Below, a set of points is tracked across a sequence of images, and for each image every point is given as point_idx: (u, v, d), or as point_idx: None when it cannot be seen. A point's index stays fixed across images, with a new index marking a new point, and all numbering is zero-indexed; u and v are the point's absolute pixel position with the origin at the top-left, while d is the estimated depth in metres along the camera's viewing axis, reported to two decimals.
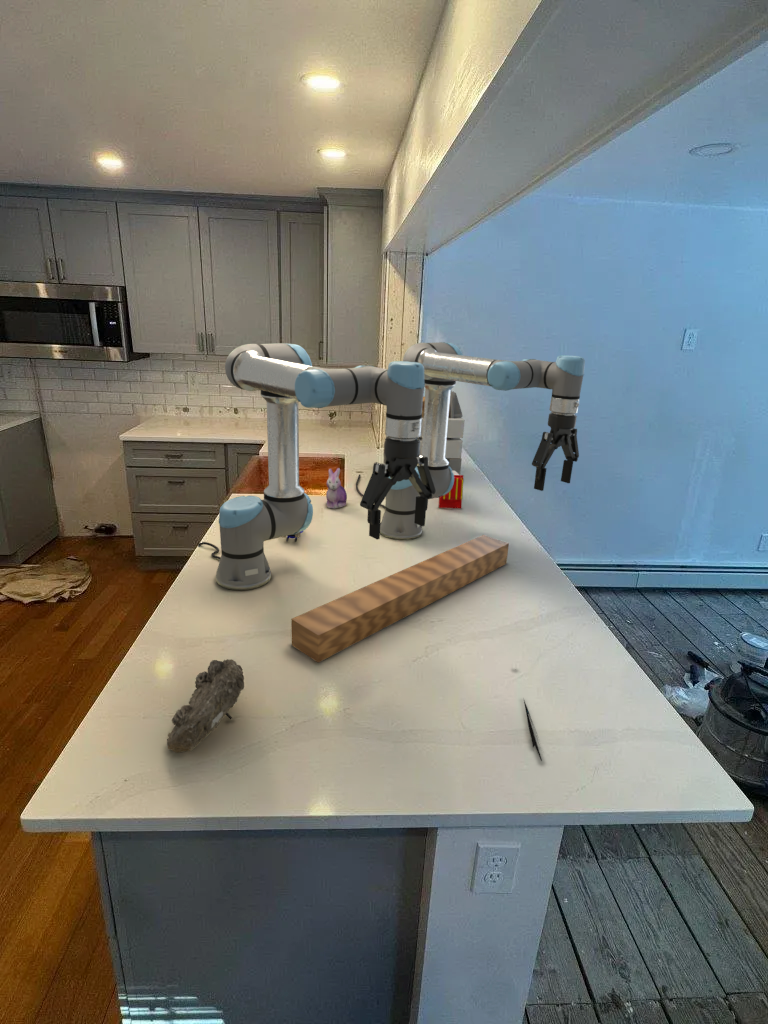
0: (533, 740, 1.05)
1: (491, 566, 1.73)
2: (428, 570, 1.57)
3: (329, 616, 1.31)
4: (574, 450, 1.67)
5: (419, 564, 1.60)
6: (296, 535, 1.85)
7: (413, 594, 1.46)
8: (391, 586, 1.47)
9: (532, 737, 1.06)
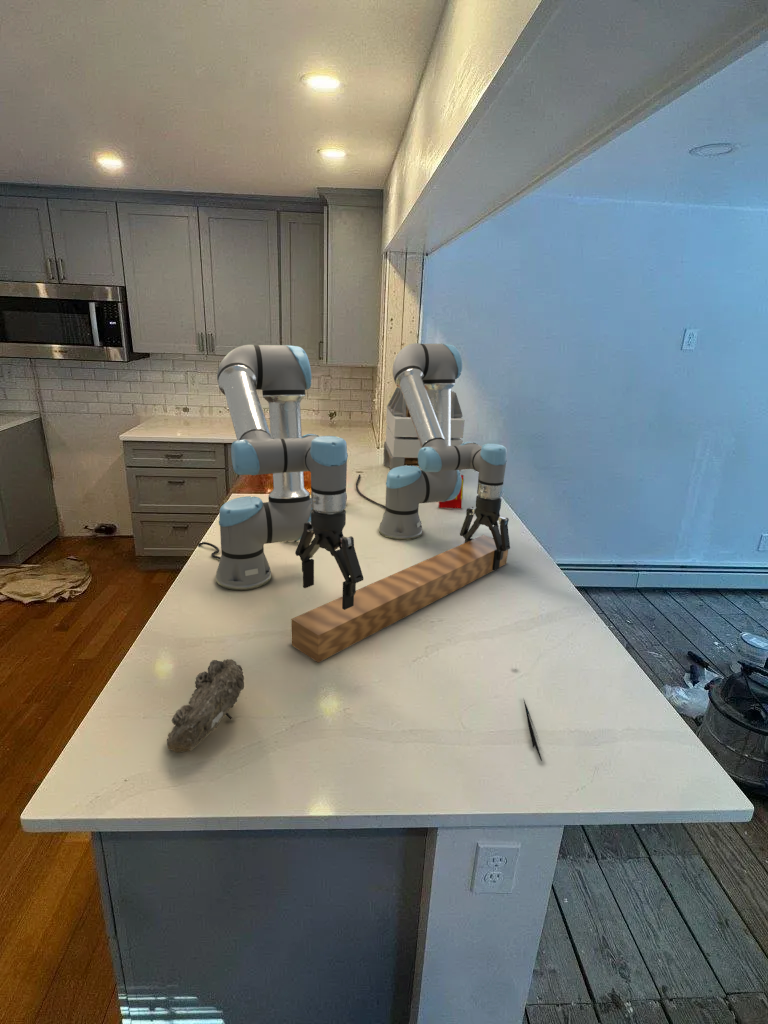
0: (533, 740, 1.05)
1: (491, 566, 1.73)
2: (428, 570, 1.57)
3: (329, 616, 1.31)
4: None
5: (419, 564, 1.60)
6: None
7: (413, 594, 1.46)
8: (391, 586, 1.47)
9: (532, 737, 1.06)
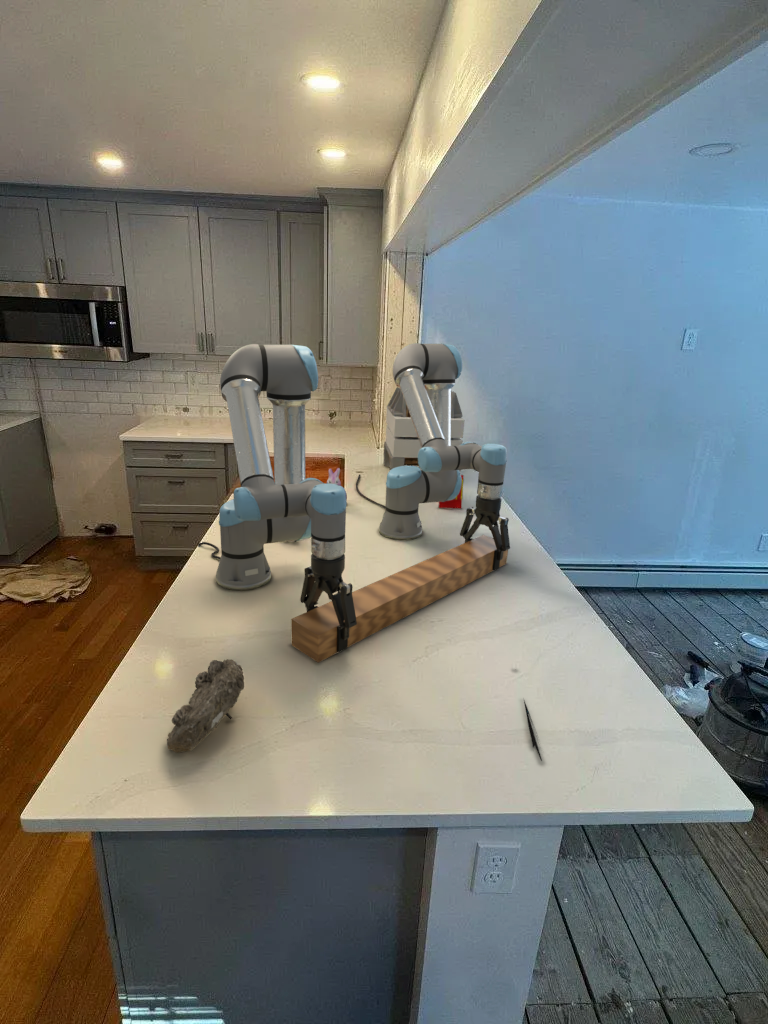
0: (533, 740, 1.05)
1: (491, 566, 1.73)
2: (428, 570, 1.57)
3: (329, 616, 1.31)
4: None
5: (419, 564, 1.60)
6: None
7: (413, 594, 1.46)
8: (391, 586, 1.47)
9: (532, 737, 1.06)
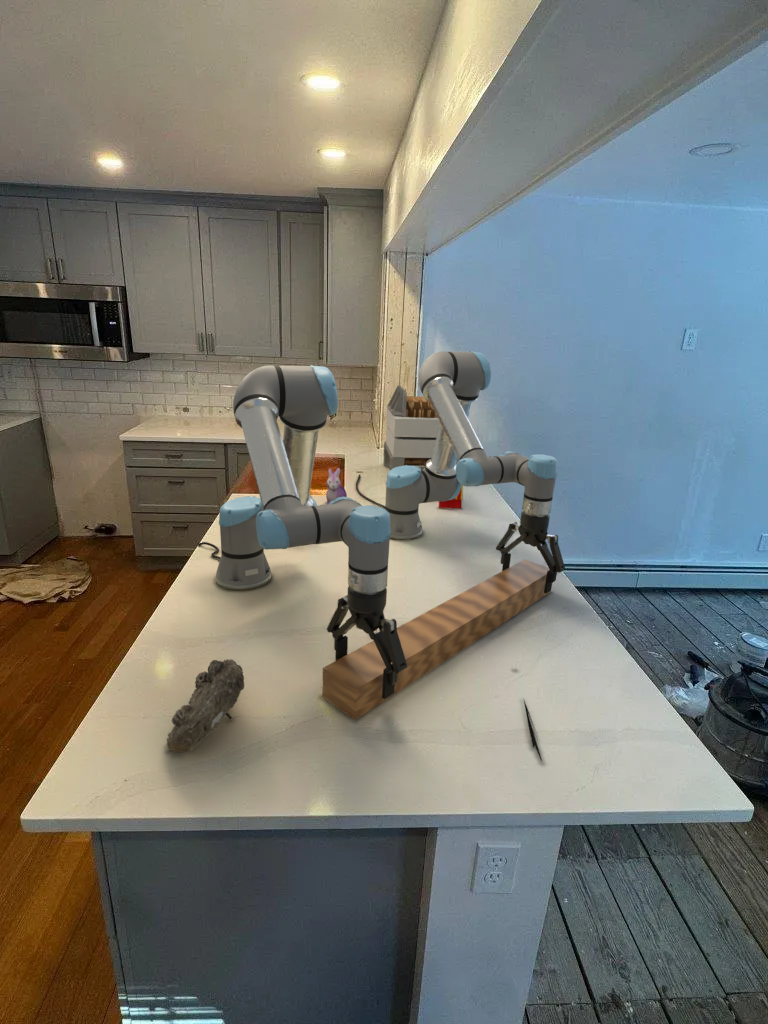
0: (533, 740, 1.05)
1: (536, 595, 1.56)
2: (470, 604, 1.40)
3: (366, 663, 1.14)
4: None
5: (459, 596, 1.43)
6: None
7: (456, 634, 1.29)
8: (431, 624, 1.30)
9: (532, 737, 1.06)
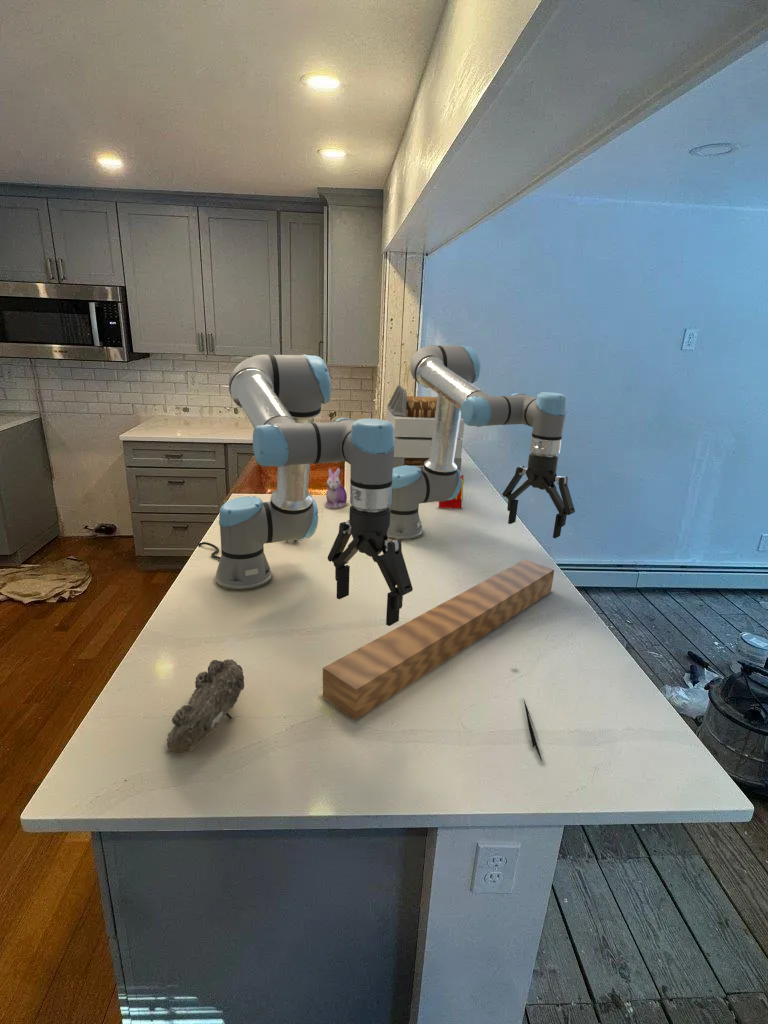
0: (533, 740, 1.05)
1: (536, 595, 1.56)
2: (470, 604, 1.40)
3: (366, 663, 1.14)
4: None
5: (459, 596, 1.43)
6: None
7: (456, 634, 1.29)
8: (431, 624, 1.30)
9: (532, 737, 1.06)
